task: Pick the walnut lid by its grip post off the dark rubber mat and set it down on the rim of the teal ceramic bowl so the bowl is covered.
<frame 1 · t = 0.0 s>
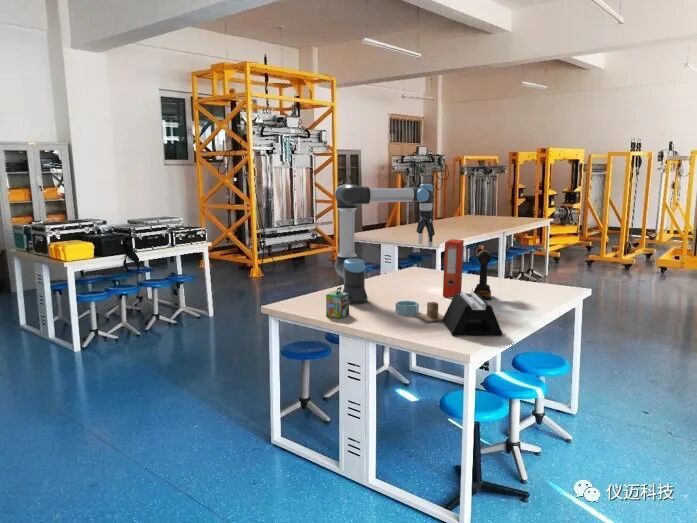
hand: (425, 245, 340), 28 cm above the table, fingers open, 13 cm apart
bowl: (407, 313, 290), on the table
mat: (432, 320, 278), on the table
device stand: (471, 328, 262), on the table, touching mat
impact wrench: (483, 296, 330), on the table
chalk box: (337, 316, 286), on the table
file binder: (452, 295, 335), on the table
lid: (432, 318, 277), point 1 cm above the table, touching mat
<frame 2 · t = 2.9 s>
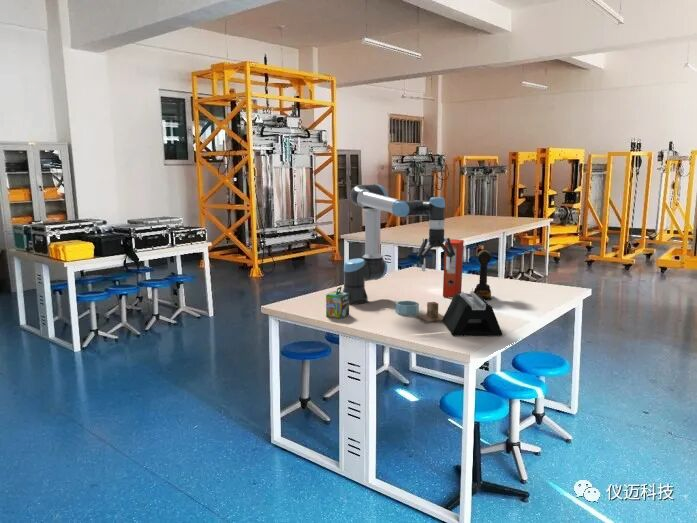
hand: (435, 270, 285), 23 cm above the table, fingers open, 13 cm apart
nothing on the table moved.
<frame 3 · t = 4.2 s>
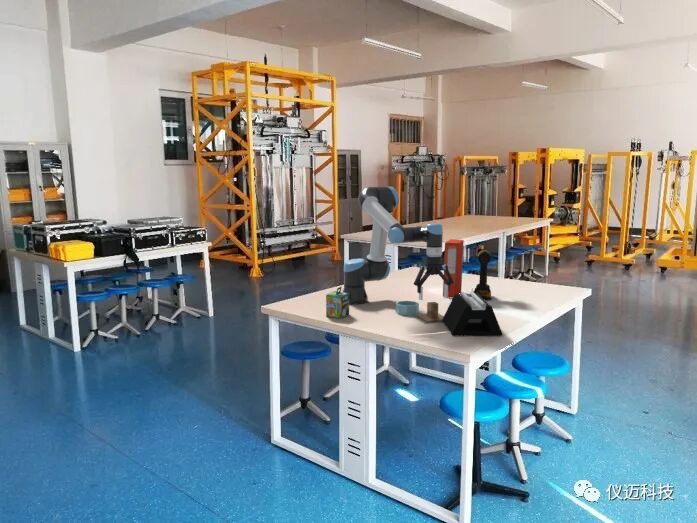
hand: (433, 298, 276), 11 cm above the table, fingers open, 13 cm apart
nothing on the table moved.
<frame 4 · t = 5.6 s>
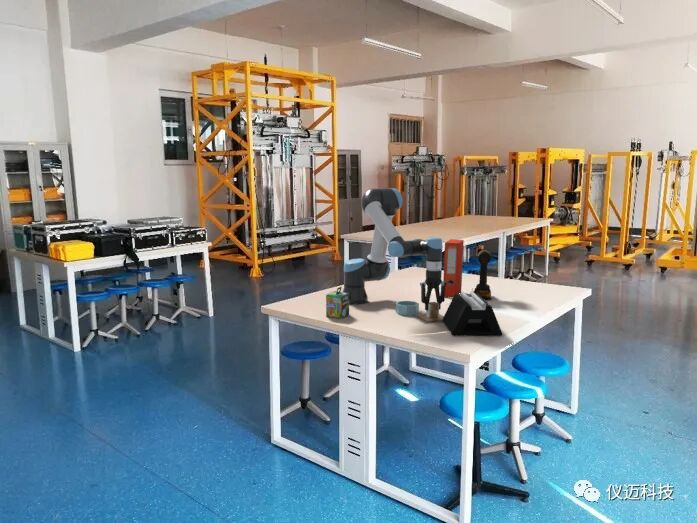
hand: (432, 316, 277), 2 cm above the table, fingers closed on lid, 4 cm apart
lid: (432, 318, 277), point 1 cm above the table, touching gripper, mat
everything else where it was.
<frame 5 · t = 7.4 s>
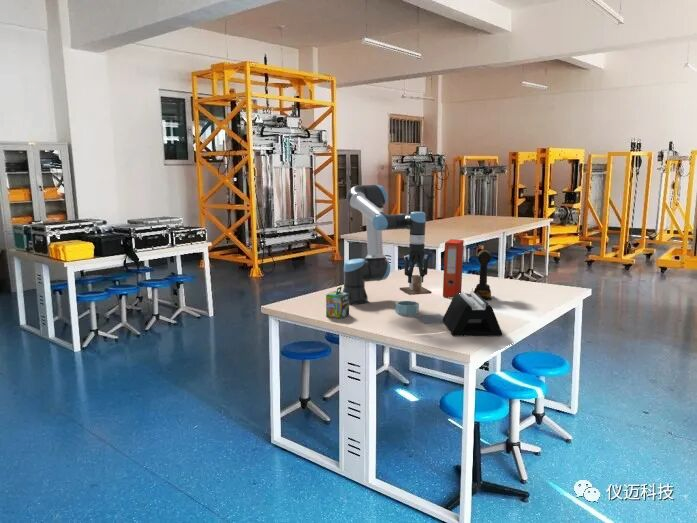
hand: (415, 289, 284), 14 cm above the table, fingers closed on lid, 4 cm apart
lid: (415, 291, 284), point 12 cm above the table, touching gripper
everything else where it was.
when the fingers open (8 cm above the table, at t = 9.2 s): lid drops 1 cm, resting on bowl.
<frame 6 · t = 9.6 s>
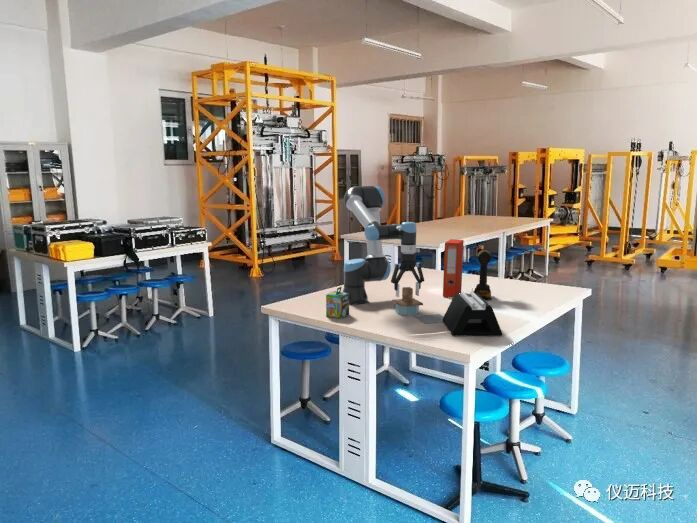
hand: (407, 295, 288), 9 cm above the table, fingers open, 10 cm apart
lid: (407, 303, 289), point 5 cm above the table, touching bowl
everything else where it was.
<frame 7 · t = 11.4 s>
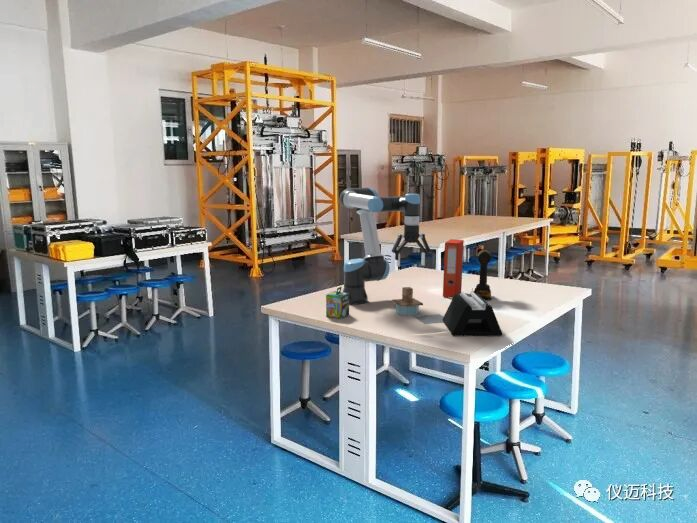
hand: (410, 265, 289), 24 cm above the table, fingers open, 13 cm apart
nothing on the table moved.
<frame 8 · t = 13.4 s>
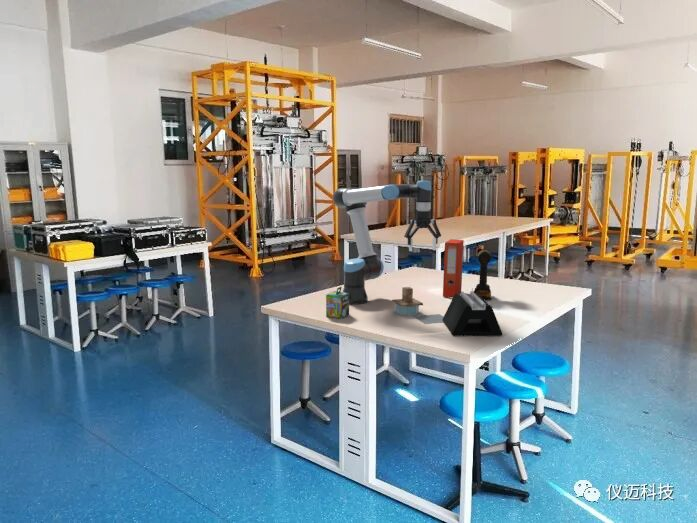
hand: (422, 250, 299), 31 cm above the table, fingers open, 13 cm apart
nothing on the table moved.
at the end: lid 0.0 cm off-centre on the bowl, point 5.5 cm above the bowl's base; lid tilted 0°; the gripper is holding nothing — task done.
